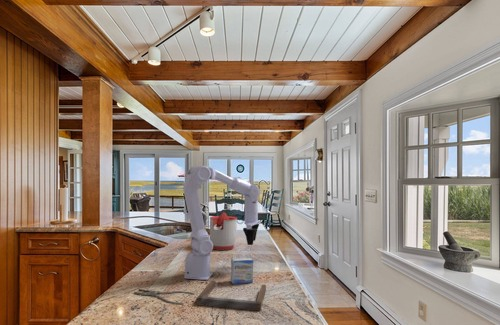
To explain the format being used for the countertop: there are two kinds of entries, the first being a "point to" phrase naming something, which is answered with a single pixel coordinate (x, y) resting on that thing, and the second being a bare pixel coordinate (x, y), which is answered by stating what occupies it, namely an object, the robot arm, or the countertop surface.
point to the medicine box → (241, 270)
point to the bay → (230, 303)
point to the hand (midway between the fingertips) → (251, 242)
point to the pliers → (154, 293)
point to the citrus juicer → (223, 231)
